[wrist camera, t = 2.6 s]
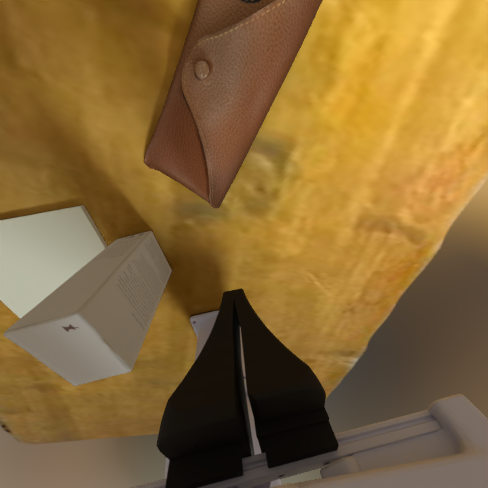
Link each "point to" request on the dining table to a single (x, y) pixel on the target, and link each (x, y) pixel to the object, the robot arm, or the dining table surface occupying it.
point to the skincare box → (98, 312)
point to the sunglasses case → (225, 89)
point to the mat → (44, 254)
